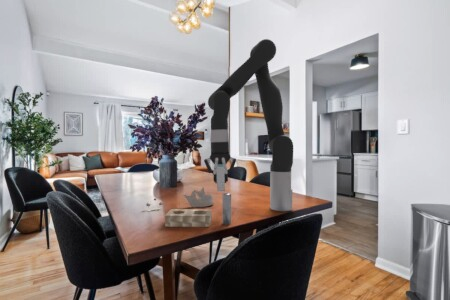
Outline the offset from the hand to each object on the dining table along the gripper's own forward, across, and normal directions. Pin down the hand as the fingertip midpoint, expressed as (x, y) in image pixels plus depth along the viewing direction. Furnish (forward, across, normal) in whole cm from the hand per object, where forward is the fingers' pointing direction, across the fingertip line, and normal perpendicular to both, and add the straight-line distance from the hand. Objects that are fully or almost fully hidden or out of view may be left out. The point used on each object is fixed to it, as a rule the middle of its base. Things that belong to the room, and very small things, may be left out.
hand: (220, 182), depth 98 cm
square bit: (+3, 0, 0) cm, 3 cm away
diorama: (+13, +33, -16) cm, 39 cm away
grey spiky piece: (+14, +11, -17) cm, 25 cm away
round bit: (+14, -2, +10) cm, 17 cm away
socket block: (+13, +12, +10) cm, 20 cm away
